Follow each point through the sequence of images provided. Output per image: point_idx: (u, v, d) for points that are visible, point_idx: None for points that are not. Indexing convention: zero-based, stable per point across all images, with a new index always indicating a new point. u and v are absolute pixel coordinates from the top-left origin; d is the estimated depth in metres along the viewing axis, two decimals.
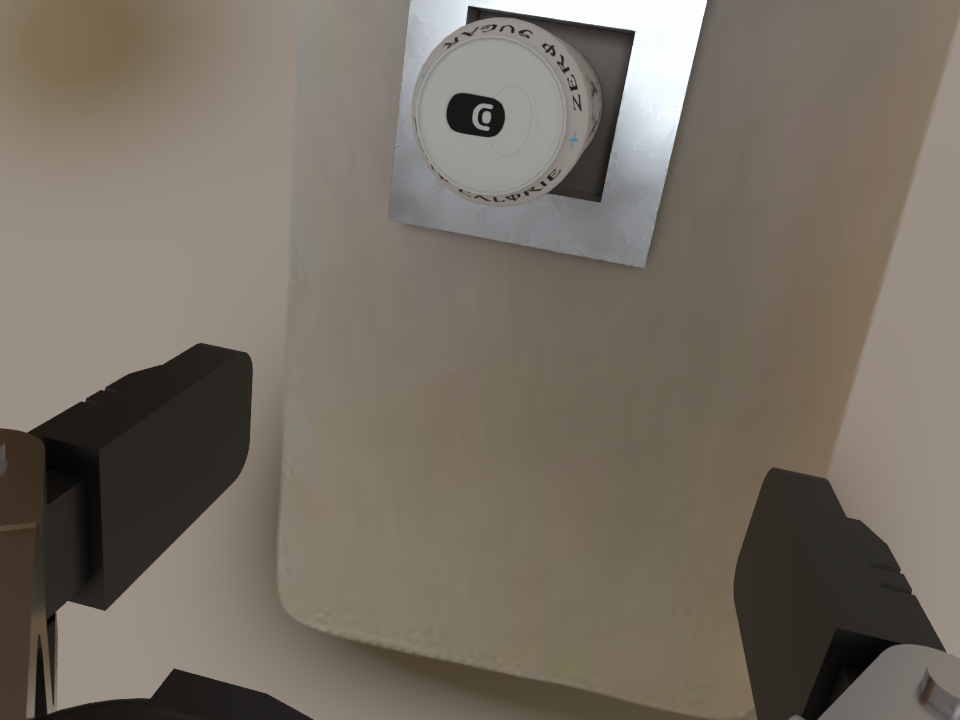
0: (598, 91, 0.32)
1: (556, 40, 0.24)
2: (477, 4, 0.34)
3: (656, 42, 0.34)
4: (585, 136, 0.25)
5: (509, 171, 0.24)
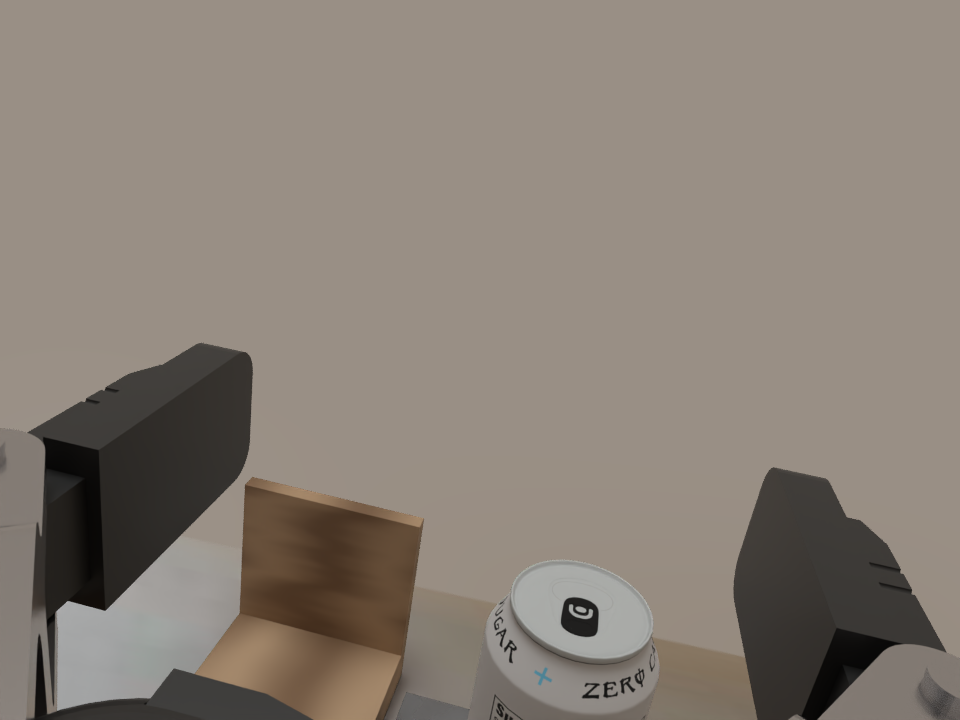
0: None
1: None
2: None
3: None
4: None
5: (626, 601, 0.26)
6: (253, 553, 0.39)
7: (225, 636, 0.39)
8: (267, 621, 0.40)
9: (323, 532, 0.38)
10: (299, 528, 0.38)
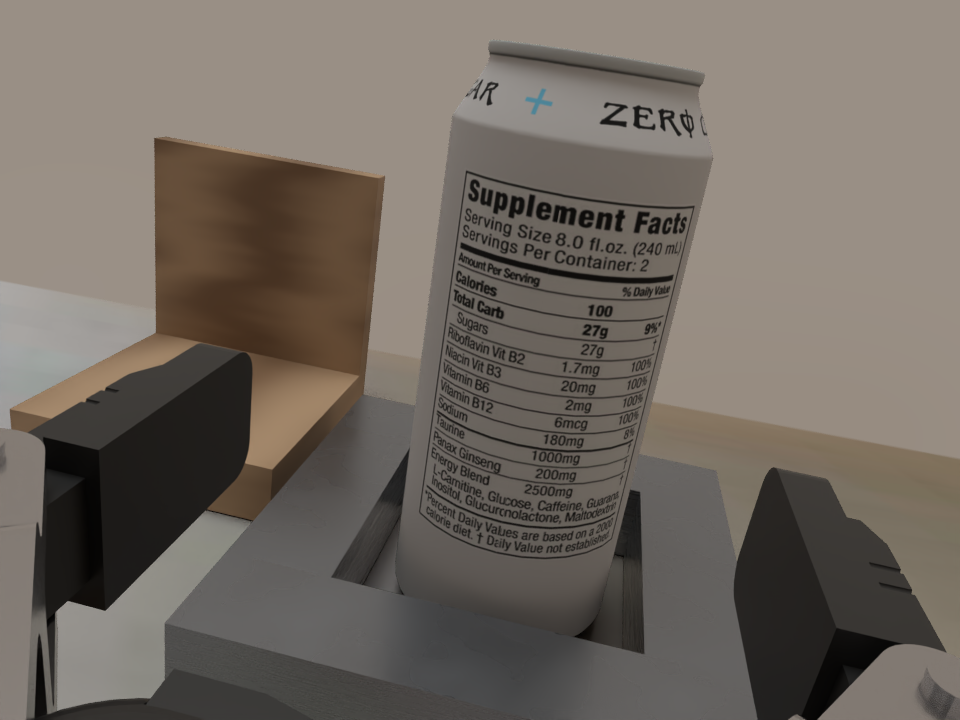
0: None
1: None
2: (333, 565, 0.19)
3: None
4: None
5: None
6: (169, 241, 0.31)
7: (133, 346, 0.30)
8: (191, 340, 0.32)
9: (255, 200, 0.29)
10: (225, 197, 0.30)
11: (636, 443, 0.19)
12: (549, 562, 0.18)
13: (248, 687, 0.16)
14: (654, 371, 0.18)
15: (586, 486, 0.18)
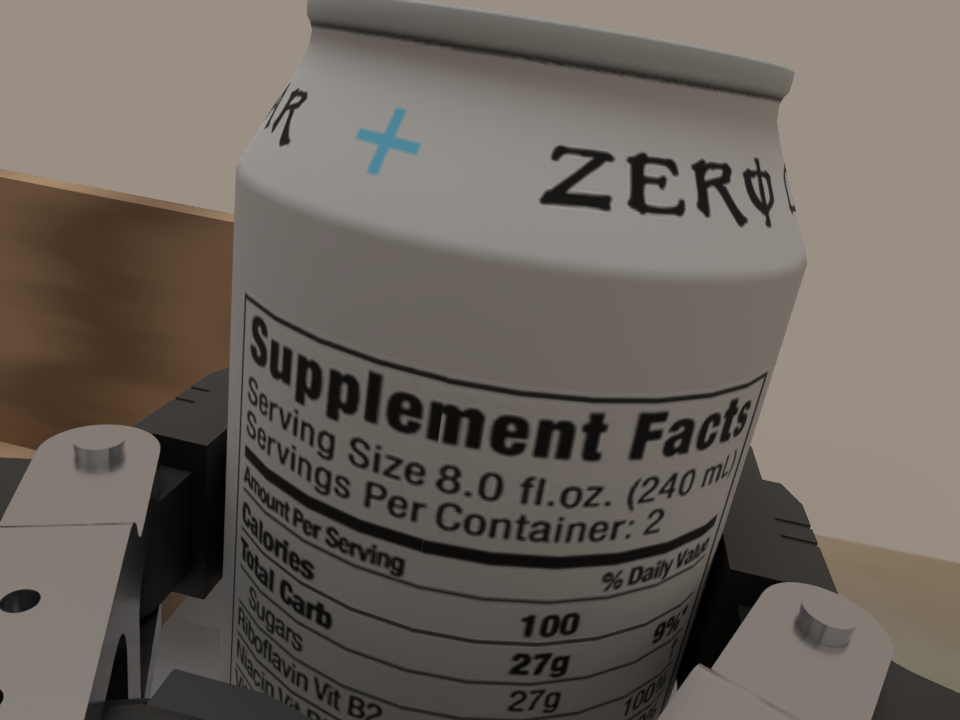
0: None
1: None
2: None
3: None
4: None
5: None
6: None
7: None
8: (11, 445, 0.23)
9: (83, 255, 0.20)
10: (41, 250, 0.20)
11: None
12: None
13: None
14: (671, 682, 0.09)
15: None
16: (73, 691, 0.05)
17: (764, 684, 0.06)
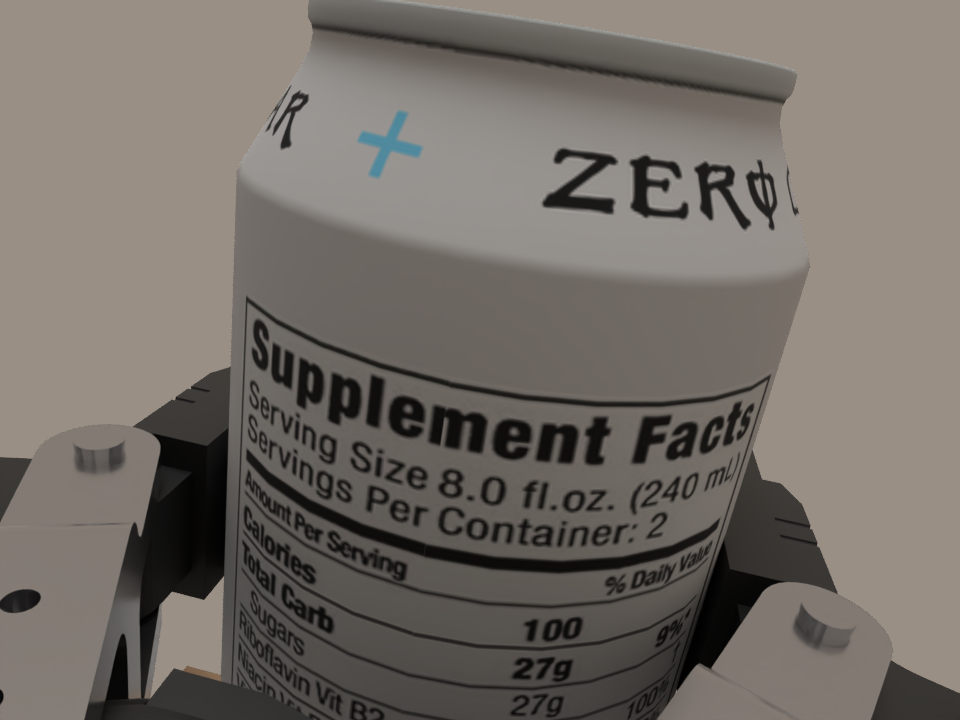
0: None
1: None
2: None
3: None
4: None
5: None
6: None
7: None
8: None
9: None
10: None
11: None
12: None
13: None
14: (674, 686, 0.09)
15: None
16: (74, 691, 0.05)
17: (764, 684, 0.06)
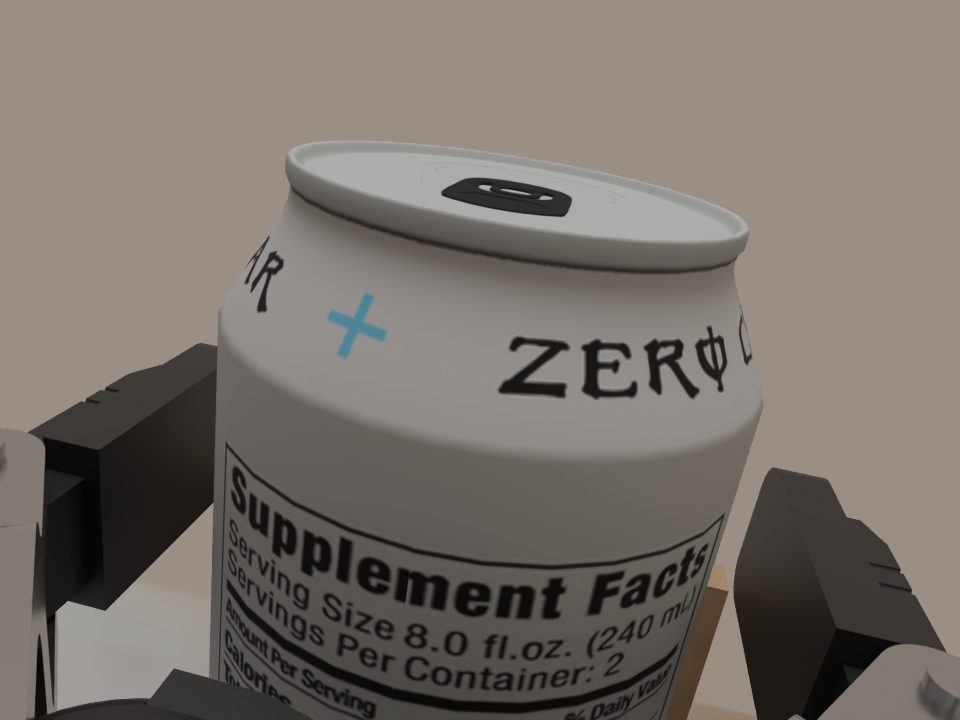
0: None
1: None
2: None
3: None
4: None
5: (656, 201, 0.09)
6: None
7: None
8: None
9: None
10: None
11: None
12: None
13: None
14: None
15: None
16: (9, 688, 0.05)
17: None
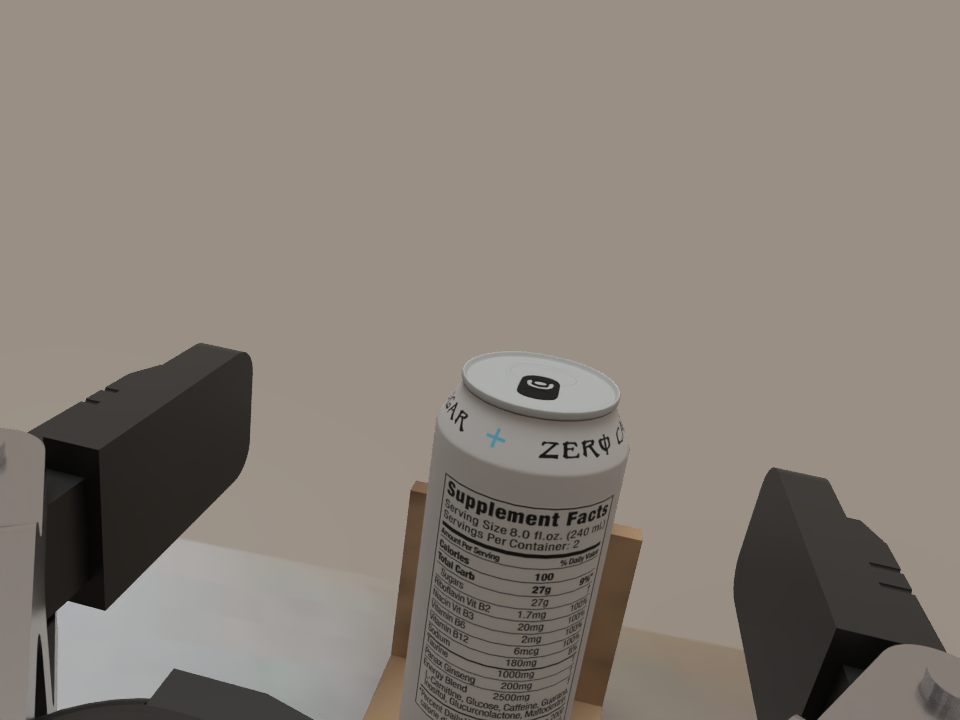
0: None
1: None
2: None
3: None
4: None
5: (591, 381, 0.24)
6: (415, 578, 0.31)
7: (381, 685, 0.31)
8: None
9: None
10: None
11: (579, 652, 0.25)
12: None
13: None
14: (590, 603, 0.24)
15: (540, 691, 0.24)
16: (9, 688, 0.05)
17: None
